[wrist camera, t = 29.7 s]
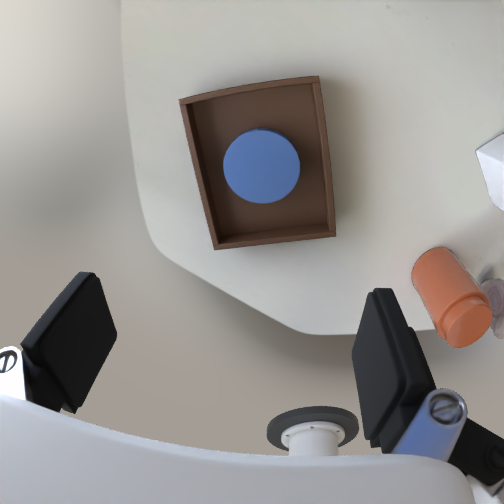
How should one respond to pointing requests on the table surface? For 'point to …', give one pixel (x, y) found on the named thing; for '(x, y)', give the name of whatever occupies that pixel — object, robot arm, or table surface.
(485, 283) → the fossil
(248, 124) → the tray
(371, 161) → the table surface
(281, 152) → the lid
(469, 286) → the jar
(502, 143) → the medicine bottle
